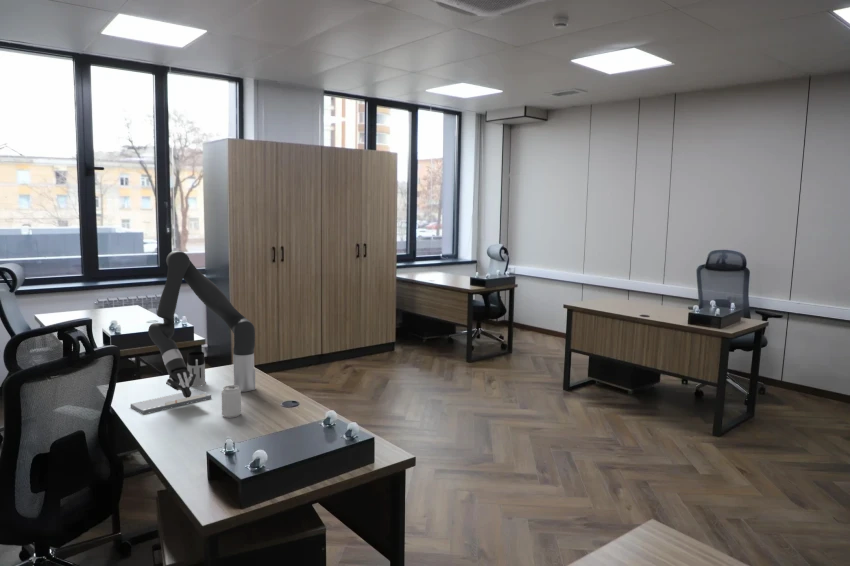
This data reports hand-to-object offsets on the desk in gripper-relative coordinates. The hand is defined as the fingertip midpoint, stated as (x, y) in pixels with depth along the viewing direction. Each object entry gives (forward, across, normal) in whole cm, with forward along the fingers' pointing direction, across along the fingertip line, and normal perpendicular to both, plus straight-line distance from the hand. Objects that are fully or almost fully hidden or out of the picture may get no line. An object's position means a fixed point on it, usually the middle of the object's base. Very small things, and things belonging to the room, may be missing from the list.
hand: (188, 396), depth 248 cm
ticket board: (-6, 0, +15) cm, 16 cm away
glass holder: (-18, +20, +27) cm, 38 cm away
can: (+16, +10, -8) cm, 21 cm away
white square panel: (-3, 0, +10) cm, 10 cm away
